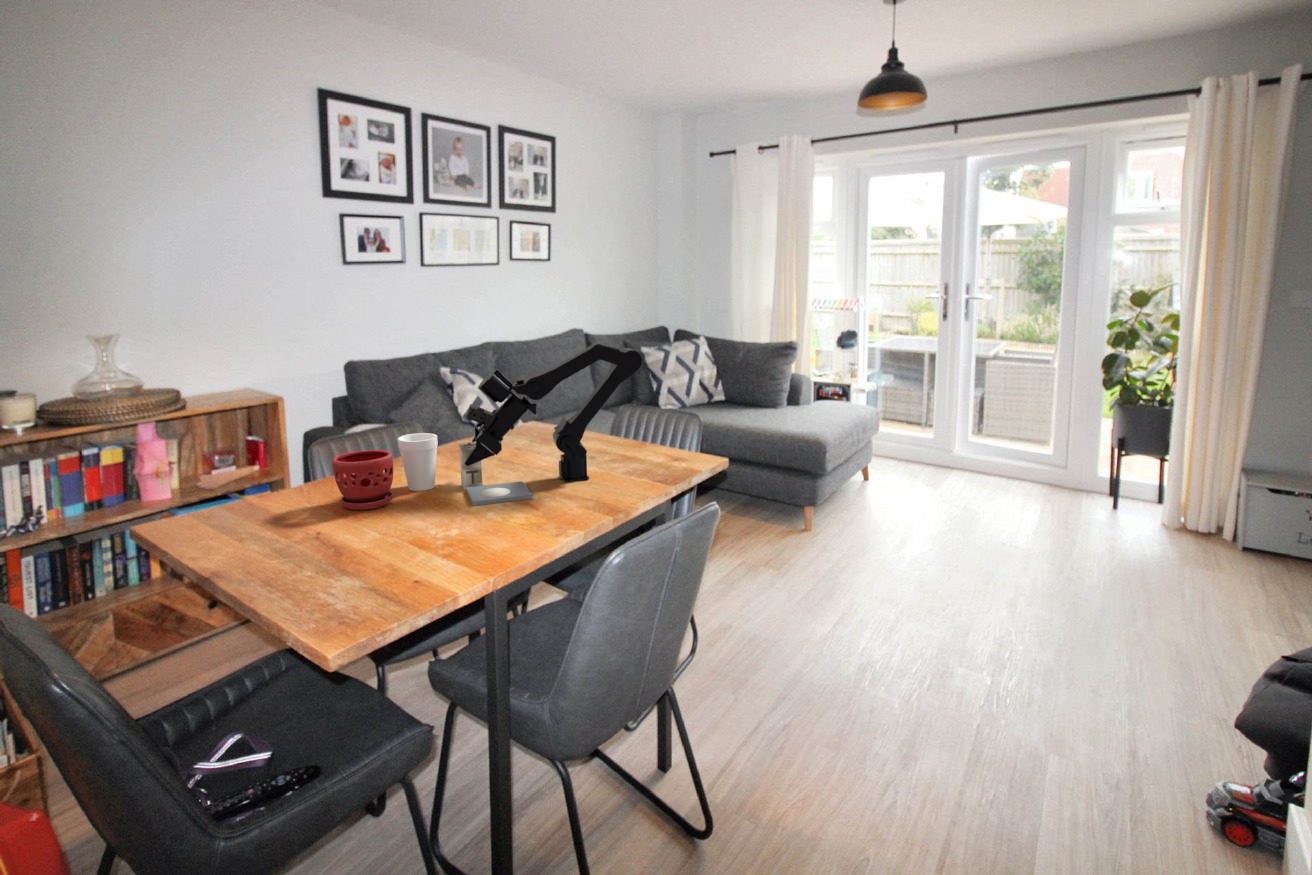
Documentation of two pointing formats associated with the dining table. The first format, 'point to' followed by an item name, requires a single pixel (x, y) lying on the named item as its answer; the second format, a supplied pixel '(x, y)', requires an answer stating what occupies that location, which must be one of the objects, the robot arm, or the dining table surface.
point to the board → (498, 493)
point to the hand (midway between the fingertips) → (465, 460)
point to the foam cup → (419, 459)
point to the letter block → (469, 467)
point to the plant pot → (364, 478)
